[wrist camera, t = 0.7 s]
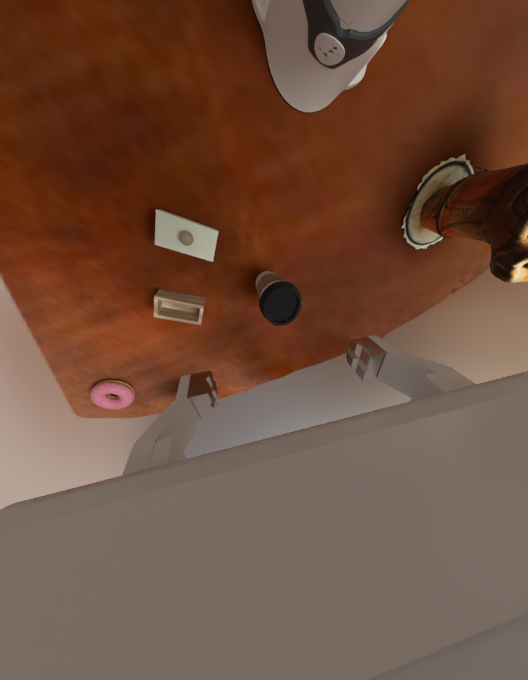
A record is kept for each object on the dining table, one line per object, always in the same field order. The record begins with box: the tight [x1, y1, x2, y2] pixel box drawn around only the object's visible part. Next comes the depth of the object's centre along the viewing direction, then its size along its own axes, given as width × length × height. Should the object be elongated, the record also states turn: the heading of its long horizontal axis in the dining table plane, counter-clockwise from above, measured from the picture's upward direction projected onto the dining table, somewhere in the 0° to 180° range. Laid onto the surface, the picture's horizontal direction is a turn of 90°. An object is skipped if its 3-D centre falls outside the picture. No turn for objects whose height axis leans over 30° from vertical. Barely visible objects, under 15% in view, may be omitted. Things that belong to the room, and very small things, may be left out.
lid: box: [155, 209, 218, 262], centre depth 37 cm, size 6×11×5 cm, turn 71°
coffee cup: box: [256, 271, 302, 326], centre depth 41 cm, size 8×8×15 cm
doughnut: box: [89, 380, 135, 409], centre depth 55 cm, size 11×11×4 cm
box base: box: [154, 288, 205, 325], centre depth 44 cm, size 5×10×5 cm, turn 72°
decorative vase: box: [402, 154, 528, 283], centre depth 34 cm, size 21×23×28 cm
